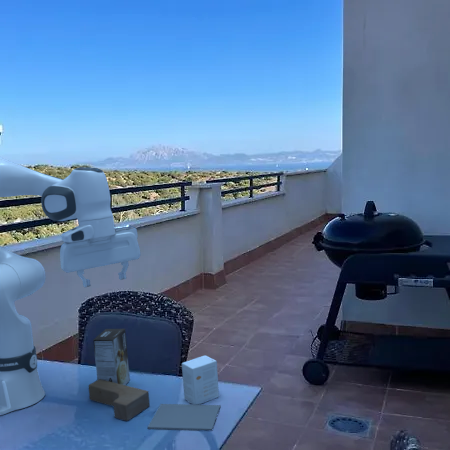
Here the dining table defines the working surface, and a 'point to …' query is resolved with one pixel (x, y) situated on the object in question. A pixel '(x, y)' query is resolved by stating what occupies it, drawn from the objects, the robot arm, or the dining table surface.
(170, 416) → the mat
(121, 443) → the dining table surface
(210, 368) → the small box
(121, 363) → the coffee box
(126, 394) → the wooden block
